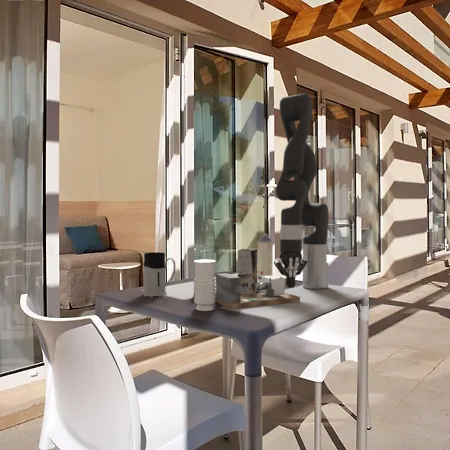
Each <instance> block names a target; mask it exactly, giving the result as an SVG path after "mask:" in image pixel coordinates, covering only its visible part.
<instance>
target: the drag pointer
mask: <svg viewBox="0 0 450 450" xmlns="http://www.w3.org/2000/svg"><path fill="white" fill-rule="evenodd" d="M266 296H269V297H274V289H271V277H270V288H266Z"/></svg>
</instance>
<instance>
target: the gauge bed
mask: <svg viewBox="0 0 450 450" xmlns="http://www.w3.org/2000/svg"><path fill="white" fill-rule="evenodd" d="M215 278H216V280H215V282H216V284H215V286H216V288H215V289H216V291H215V301H216V302H215V303H217V304H219V305H221V306H223V307H226V308H227V309H229V310H233V309H242V308H243V309H244V308H252V307H253V308H254V307H260V306H271V305H278V304H279V305H280V304H288V303H297V302H301V296H297V295H295V294H291V293H288V292H285V295H277V296H274V297H269V296H266V294H264V293H261V292H256V293H255V294H241V277H238V275H235V274H231V273H224V272H223V273H215Z"/></svg>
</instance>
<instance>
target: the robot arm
mask: <svg viewBox="0 0 450 450" xmlns="http://www.w3.org/2000/svg"><path fill="white" fill-rule="evenodd" d="M311 98H312V97H311V96H310V95H309V94H308V93H299V94H294V95H293V94H292V95H288V96H287V95H286V96H284V97H281V99H280V100H279V113H280V117H281V118H280V119H281V121H282V125H283V126H282V127H283V130H284V132H285V138H286V140H287V141H286V142H287V144H286V147H285V149H284V153H283V164H282V170H281V174H280V176H279V179H278V181H277V184H276V187H275V194H276V197H277V199H278V200H279V201H285V202H286V201H291V202H292V201H293V202H294V204H293V205H292V206H289V207H284V208H282V210H281V211H280V212H281V213H280V231H279V251H280V254H279V258H278V259H277V260H275V261H274V262H273V265H274V266H275V268H277V270H278V272H279V274H281V276H285V278H286V280H285V283H286V284H285V285H286V286H287V288H288V289H294V288H295V286H296V277H297V276H299V275H301V273H302V288H306V289H311V290H312V289H313V290H315V289H316V290H318V289H319V290H320V289H326V288H329V280H330V279H329V274H330V273H329V272H330V271H329V270H330V269H329V262H328V261H327V259H328V258H327V256H328V255H327V254H328V253H327V250H328V249H327V246H328V245H327V243H328V242H327V241H328V235H329V234H328V233H329V231H328V229H329V216H330V214H329V212H330V211H329V207H328V205H327V204H325V203H324V202H313V203H312V202H311V203H310V200H309V192H310V188H311V186H312V185H313V182H314V180H315V178H316V175H317V171H318V169H317V160H316V155H315V152H314V151H313V149H312V148H311V147H310V145H309V144H308V143H307V139H308V134H309V130H310V125H311V121H312V116H313V101H312V99H311ZM295 122H298V126H297V127H296V123H295ZM292 178H293V180H292ZM302 226H303V227H315V229H314V231H313V232H311V233H310V234H307V235H305V236H303V229H302Z"/></svg>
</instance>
